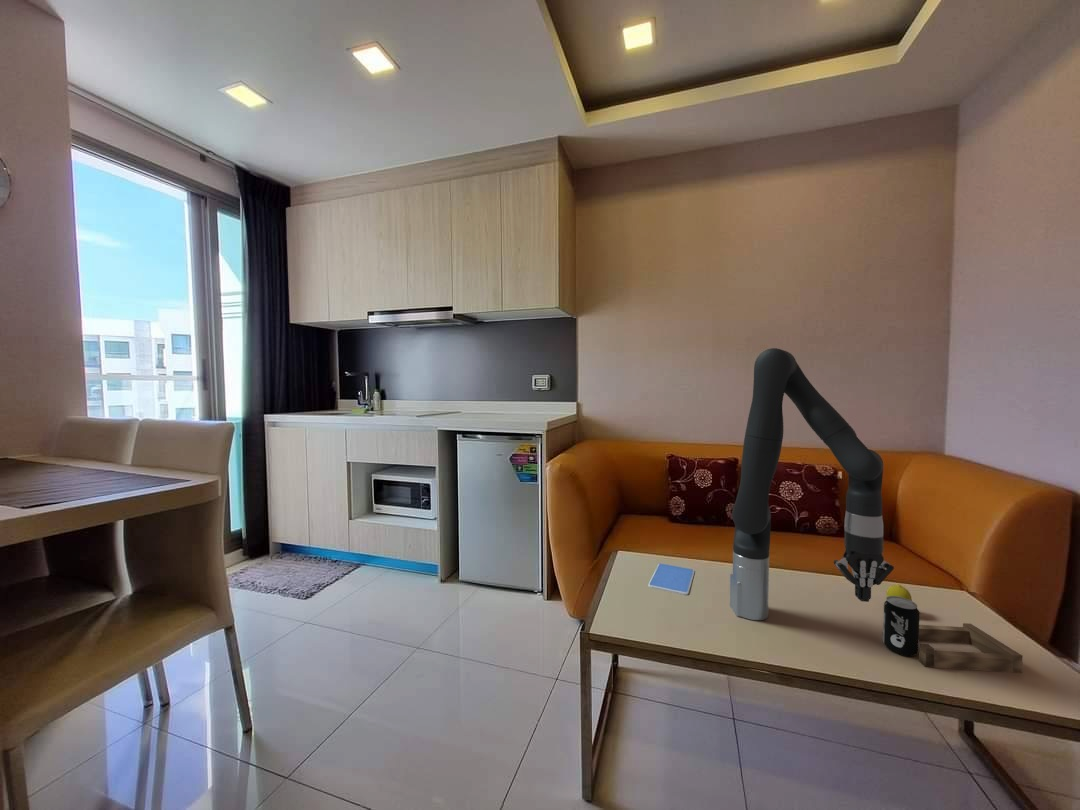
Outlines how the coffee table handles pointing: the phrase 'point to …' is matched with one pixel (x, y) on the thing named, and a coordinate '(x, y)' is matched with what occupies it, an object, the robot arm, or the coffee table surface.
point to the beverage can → (901, 626)
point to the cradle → (990, 660)
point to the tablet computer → (672, 579)
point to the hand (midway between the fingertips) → (863, 599)
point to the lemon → (898, 592)
